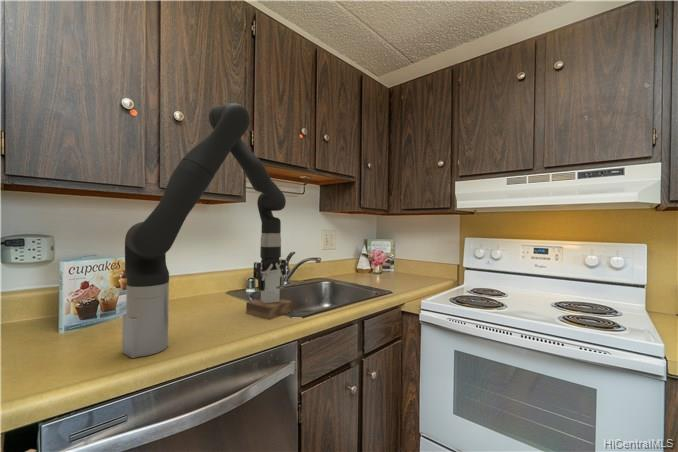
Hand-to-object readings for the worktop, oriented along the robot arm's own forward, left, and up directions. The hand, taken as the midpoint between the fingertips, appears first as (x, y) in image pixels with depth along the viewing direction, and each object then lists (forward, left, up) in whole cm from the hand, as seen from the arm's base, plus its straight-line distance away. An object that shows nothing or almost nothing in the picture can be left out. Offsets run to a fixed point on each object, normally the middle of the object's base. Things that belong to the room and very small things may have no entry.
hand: (270, 288), depth 109 cm
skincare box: (0, 0, -5) cm, 5 cm away
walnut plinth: (0, 0, -9) cm, 9 cm away
